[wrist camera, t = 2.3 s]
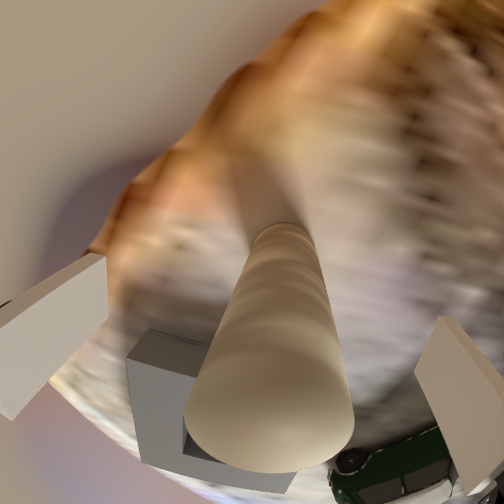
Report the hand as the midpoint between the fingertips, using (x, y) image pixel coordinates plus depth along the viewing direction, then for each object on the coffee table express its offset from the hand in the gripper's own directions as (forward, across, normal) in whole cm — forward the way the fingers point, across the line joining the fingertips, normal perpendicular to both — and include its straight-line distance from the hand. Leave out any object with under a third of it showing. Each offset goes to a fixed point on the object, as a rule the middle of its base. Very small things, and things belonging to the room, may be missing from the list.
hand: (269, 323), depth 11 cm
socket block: (+9, +2, +15) cm, 18 cm away
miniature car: (+9, -18, +19) cm, 28 cm away
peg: (+9, 0, 0) cm, 9 cm away
